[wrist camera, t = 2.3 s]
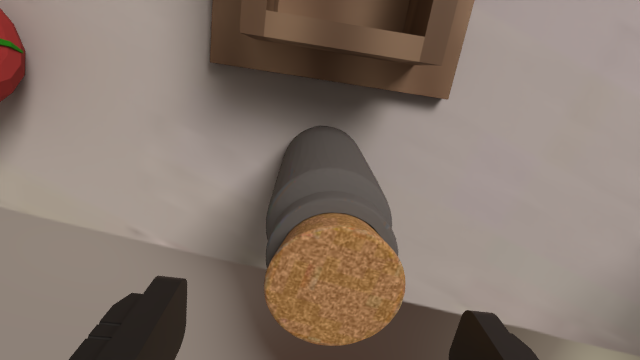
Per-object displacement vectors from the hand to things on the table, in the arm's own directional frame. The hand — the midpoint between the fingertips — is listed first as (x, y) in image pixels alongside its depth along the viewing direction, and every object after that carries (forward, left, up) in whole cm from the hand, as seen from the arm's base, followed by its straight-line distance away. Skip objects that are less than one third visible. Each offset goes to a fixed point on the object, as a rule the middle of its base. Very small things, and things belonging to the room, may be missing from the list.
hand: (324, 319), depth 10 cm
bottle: (0, 0, -17) cm, 17 cm away
